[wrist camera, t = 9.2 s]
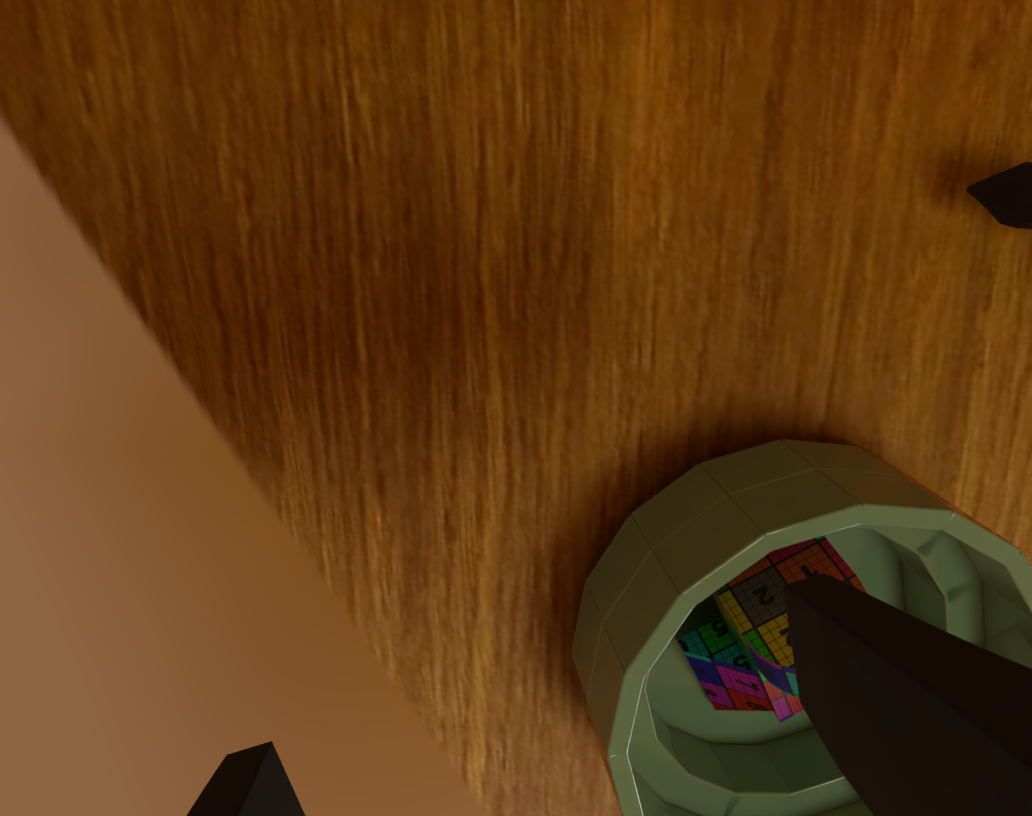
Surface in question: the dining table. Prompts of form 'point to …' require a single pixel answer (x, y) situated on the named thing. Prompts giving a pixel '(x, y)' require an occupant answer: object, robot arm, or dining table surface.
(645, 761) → the bowl
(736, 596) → the block
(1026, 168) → the knife
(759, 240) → the dining table surface
